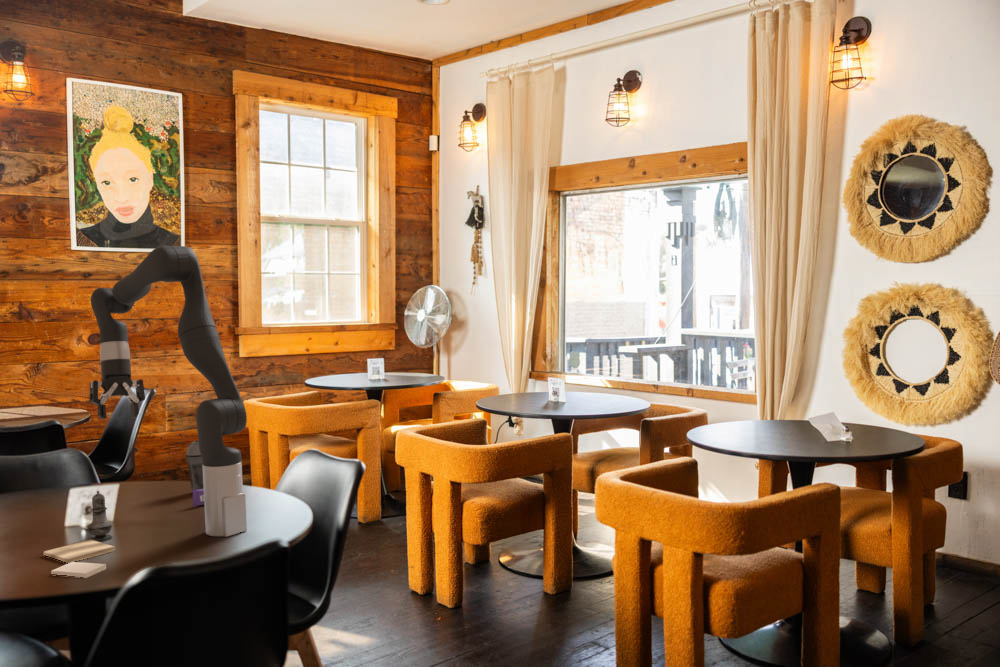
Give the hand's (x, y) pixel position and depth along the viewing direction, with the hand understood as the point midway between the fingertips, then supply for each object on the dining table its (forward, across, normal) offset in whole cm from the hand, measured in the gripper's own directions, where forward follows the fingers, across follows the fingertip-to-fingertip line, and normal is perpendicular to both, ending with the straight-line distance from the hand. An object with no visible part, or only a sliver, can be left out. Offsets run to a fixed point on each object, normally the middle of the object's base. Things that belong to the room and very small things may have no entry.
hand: (119, 418), depth 237 cm
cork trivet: (+32, -22, -24) cm, 46 cm away
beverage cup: (+23, +26, +7) cm, 36 cm away
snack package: (+26, +21, -8) cm, 35 cm away
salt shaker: (+31, -14, -16) cm, 37 cm away
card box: (+36, -28, -37) cm, 59 cm away
